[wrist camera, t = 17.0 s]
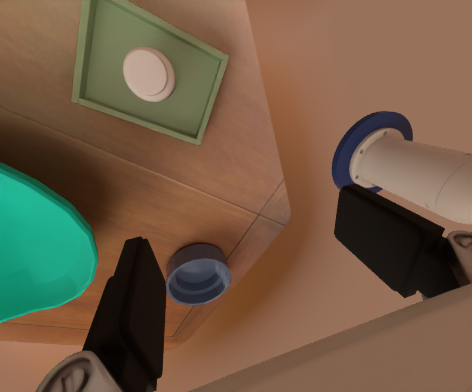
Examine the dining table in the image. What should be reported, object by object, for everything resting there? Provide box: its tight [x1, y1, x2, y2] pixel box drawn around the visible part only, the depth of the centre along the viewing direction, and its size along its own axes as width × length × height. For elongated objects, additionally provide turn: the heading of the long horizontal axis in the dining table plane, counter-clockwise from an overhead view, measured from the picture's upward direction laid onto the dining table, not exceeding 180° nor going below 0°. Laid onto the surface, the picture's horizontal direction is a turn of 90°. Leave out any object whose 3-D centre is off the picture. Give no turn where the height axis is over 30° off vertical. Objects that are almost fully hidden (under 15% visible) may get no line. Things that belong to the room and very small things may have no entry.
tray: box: [71, 0, 230, 146], centre depth 28 cm, size 17×13×3 cm
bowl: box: [166, 244, 231, 306], centre depth 45 cm, size 13×13×5 cm
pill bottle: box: [123, 46, 176, 102], centre depth 25 cm, size 5×5×10 cm
